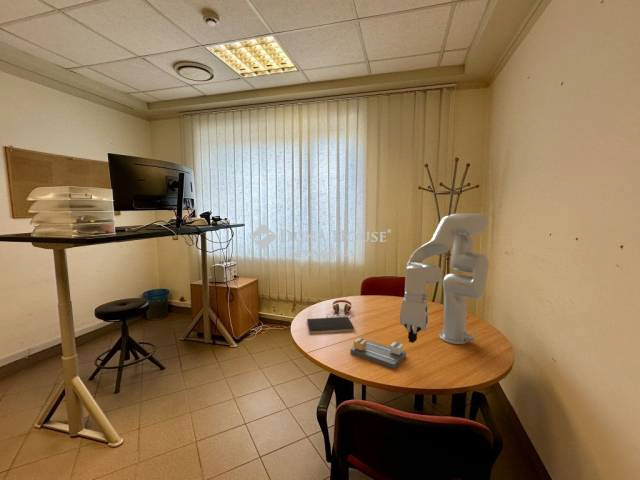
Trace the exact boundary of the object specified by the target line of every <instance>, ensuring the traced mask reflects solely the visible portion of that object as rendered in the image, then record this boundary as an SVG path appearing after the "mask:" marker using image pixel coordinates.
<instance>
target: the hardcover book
mask: <svg viewBox="0 0 640 480" xmlns="http://www.w3.org/2000/svg"><path fill="white" fill-rule="evenodd" d="M349 318H350V317H349V316H347V317H346V316H345V317H344V316H335V317H332V318H331V317H328V318H327V317H321V318H320V317H319V318H307V320H306V321H307V325H308V330H309V334H311V335H313V334H314V335H315V334H326V333H345V332H346V333H347V332H354V331H355V326H354V325H353V323H352V321H351V320H350V319H349Z"/></svg>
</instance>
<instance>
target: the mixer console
mask: <svg viewBox="0 0 640 480" xmlns="http://www.w3.org/2000/svg"><path fill="white" fill-rule="evenodd" d="M363 340H367V341H366V348H365V349H363V350H362V351H361V350H358V349H355V348H354V346H353V347H352V348H350V354H351V355H352V356H353V355H354V356H356V357H359V358H362V359H364V360H367V361H370V362H372V363H376V364H378V365H381V366H384V367H387V368H390V369H391V370H392V369H393V370H395V369H396V368H397V367H398V366H399V365H400V364H401V363H402V361H404V359H405V358H406V357H407V352H406V351H404V350H403V352H402V353H401V354H400V355H397V354H394V353H391V352H390V346H388V345H384V344H380V343H378V342H375V341H371V340H368V339H364V338H363Z"/></svg>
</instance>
